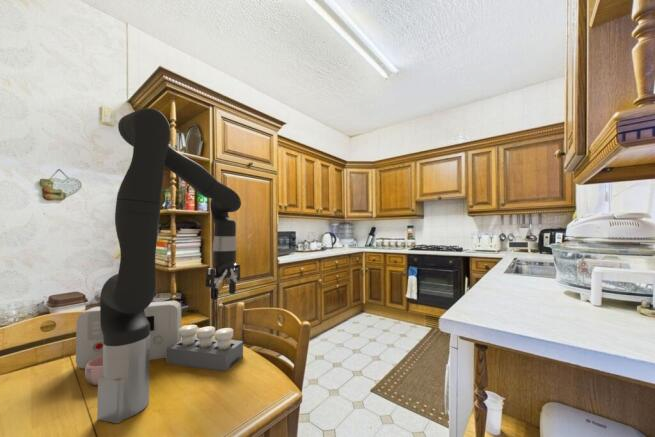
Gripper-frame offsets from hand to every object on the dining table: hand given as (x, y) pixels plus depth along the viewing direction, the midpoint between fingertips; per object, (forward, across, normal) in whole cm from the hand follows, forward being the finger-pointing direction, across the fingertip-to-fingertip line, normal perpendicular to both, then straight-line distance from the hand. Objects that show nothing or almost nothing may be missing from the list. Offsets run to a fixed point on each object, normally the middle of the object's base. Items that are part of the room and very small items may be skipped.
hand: (223, 296), depth 90 cm
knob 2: (+17, -3, +5) cm, 18 cm away
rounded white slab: (+21, -10, +29) cm, 37 cm away
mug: (+22, -20, +24) cm, 38 cm away
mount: (+21, -3, +5) cm, 21 cm away
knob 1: (+17, -4, +12) cm, 21 cm away
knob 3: (+17, -2, -2) cm, 17 cm away
